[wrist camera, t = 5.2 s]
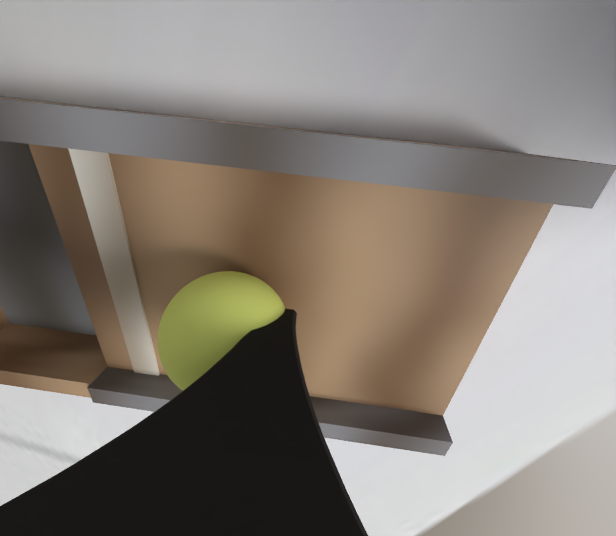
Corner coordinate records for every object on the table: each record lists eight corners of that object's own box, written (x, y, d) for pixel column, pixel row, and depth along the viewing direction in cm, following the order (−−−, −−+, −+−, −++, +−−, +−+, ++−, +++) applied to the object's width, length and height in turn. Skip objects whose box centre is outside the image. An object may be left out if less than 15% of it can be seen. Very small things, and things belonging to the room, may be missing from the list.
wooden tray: (529, 153, 9) (617, 165, 6) (423, 392, 15) (444, 455, 12) (-136, 82, 10) (-324, 64, 7) (4, 332, 16) (-70, 377, 13)
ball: (279, 338, 6) (105, 311, 6) (272, 443, 8) (140, 419, 8) (303, 259, 9) (192, 243, 10) (294, 344, 11) (202, 330, 12)
